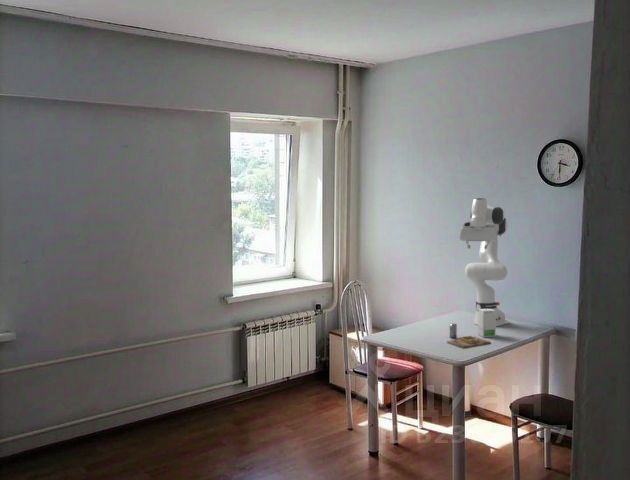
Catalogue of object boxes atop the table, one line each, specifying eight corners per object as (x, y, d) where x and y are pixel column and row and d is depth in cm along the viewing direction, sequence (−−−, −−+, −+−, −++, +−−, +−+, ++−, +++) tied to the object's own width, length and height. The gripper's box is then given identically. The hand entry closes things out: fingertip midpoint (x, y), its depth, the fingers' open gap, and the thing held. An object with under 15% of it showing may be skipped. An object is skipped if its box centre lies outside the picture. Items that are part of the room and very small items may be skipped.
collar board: (474, 338, 342) (474, 333, 342) (490, 343, 331) (490, 338, 331) (447, 342, 334) (447, 337, 333) (462, 348, 322) (462, 343, 322)
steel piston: (453, 336, 347) (453, 323, 346) (458, 338, 343) (458, 324, 343) (448, 337, 345) (448, 324, 344) (452, 339, 342) (452, 325, 341)
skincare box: (482, 337, 344) (483, 311, 342) (477, 334, 350) (477, 308, 349) (496, 336, 345) (496, 310, 344) (490, 333, 352) (490, 308, 350)
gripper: (497, 226, 340) (496, 250, 337) (461, 226, 348) (460, 249, 345) (496, 223, 334) (495, 247, 331) (459, 223, 342) (458, 246, 339)
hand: (477, 248), depth 338 cm, fingers open, 8 cm apart
